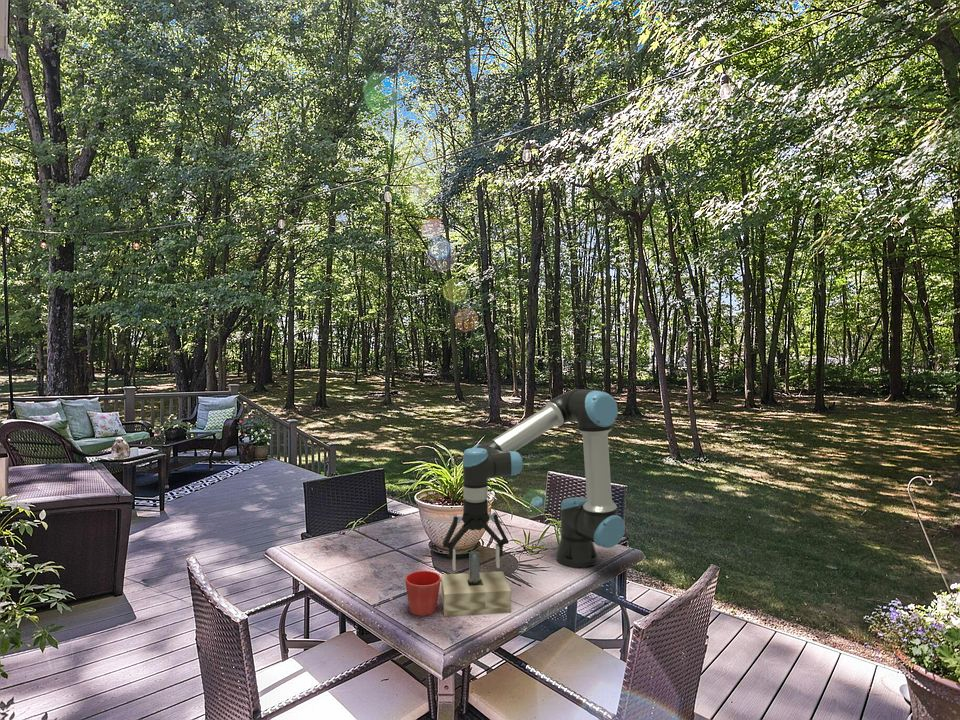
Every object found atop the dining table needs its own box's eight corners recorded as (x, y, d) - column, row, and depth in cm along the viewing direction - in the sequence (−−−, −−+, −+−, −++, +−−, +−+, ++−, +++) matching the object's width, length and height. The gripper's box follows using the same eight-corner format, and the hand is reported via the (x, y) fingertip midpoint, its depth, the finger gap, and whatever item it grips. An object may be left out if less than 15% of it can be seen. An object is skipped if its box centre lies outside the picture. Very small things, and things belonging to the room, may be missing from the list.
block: (502, 591, 171) (502, 571, 171) (511, 612, 157) (511, 590, 157) (441, 594, 168) (441, 574, 168) (444, 616, 154) (444, 594, 154)
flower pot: (441, 600, 164) (441, 569, 164) (439, 618, 153) (440, 585, 153) (407, 601, 164) (407, 570, 163) (403, 619, 153) (403, 585, 152)
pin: (478, 595, 164) (479, 550, 164) (480, 600, 161) (480, 555, 161) (468, 595, 164) (468, 551, 163) (469, 600, 160) (470, 555, 160)
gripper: (512, 494, 167) (513, 560, 168) (434, 497, 164) (434, 565, 164) (517, 500, 160) (517, 570, 160) (435, 504, 157) (436, 575, 157)
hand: (475, 567), depth 162 cm, fingers open, 13 cm apart
